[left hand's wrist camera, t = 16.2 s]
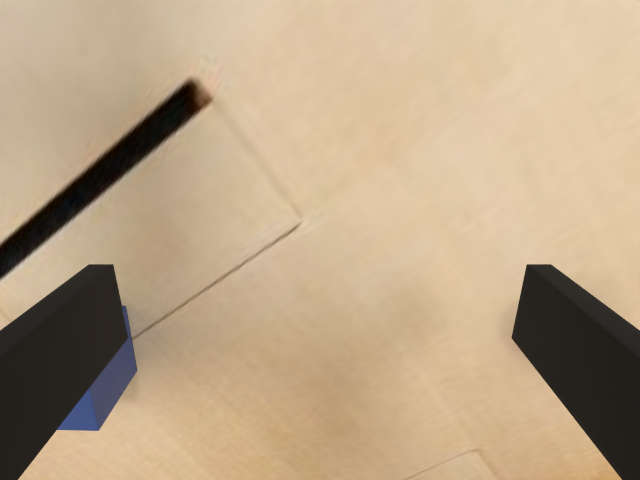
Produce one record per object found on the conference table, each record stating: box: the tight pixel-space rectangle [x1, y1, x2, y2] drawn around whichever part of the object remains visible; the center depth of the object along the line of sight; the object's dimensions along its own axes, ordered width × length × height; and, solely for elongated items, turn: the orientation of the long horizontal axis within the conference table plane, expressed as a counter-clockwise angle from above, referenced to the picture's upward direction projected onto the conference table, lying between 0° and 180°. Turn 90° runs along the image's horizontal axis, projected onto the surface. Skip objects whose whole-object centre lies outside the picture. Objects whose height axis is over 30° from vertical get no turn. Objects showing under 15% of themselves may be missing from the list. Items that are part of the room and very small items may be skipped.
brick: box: [57, 306, 137, 431], centre depth 39 cm, size 5×8×8 cm, turn 178°
